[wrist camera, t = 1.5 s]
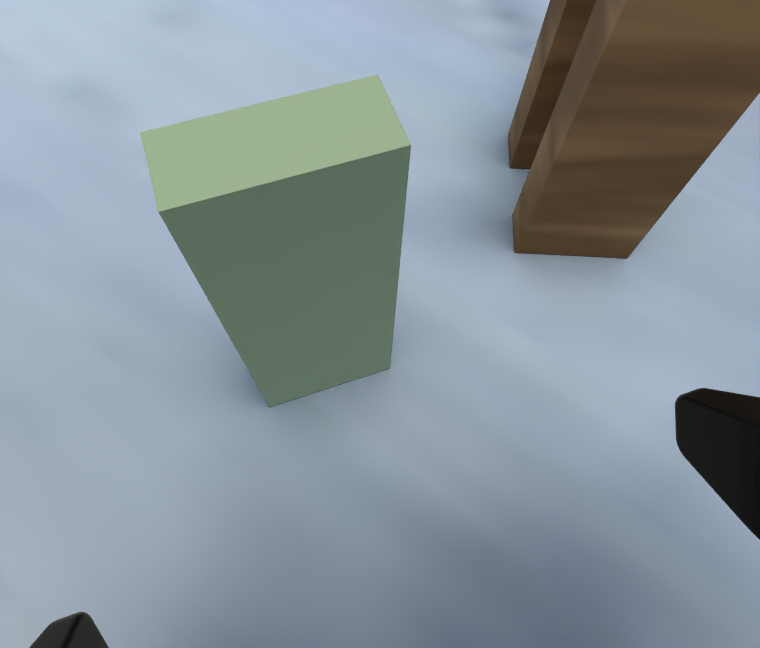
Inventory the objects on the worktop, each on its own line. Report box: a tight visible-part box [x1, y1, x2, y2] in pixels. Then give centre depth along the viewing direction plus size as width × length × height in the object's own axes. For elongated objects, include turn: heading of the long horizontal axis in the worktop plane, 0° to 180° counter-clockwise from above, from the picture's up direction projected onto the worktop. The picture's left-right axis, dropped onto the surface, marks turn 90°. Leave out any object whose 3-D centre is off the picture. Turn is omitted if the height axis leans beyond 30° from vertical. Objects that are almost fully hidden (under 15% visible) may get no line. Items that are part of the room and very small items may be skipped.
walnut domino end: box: [508, 0, 596, 169], centre depth 22 cm, size 2×5×13 cm, turn 87°
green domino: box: [140, 75, 411, 407], centre depth 17 cm, size 2×5×13 cm, turn 109°
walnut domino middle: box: [512, 0, 760, 258], centre depth 20 cm, size 2×5×13 cm, turn 87°
